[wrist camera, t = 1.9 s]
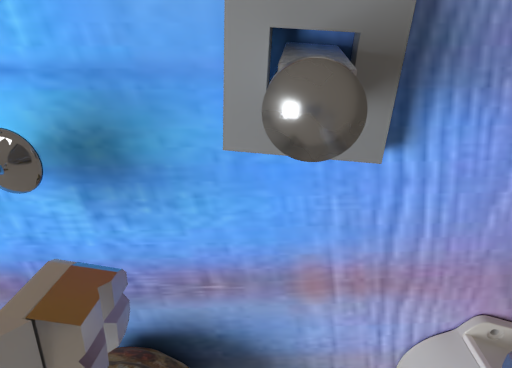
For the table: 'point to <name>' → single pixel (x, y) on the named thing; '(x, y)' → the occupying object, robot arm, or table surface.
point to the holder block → (312, 18)
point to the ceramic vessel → (141, 358)
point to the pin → (314, 103)
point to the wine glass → (18, 164)
